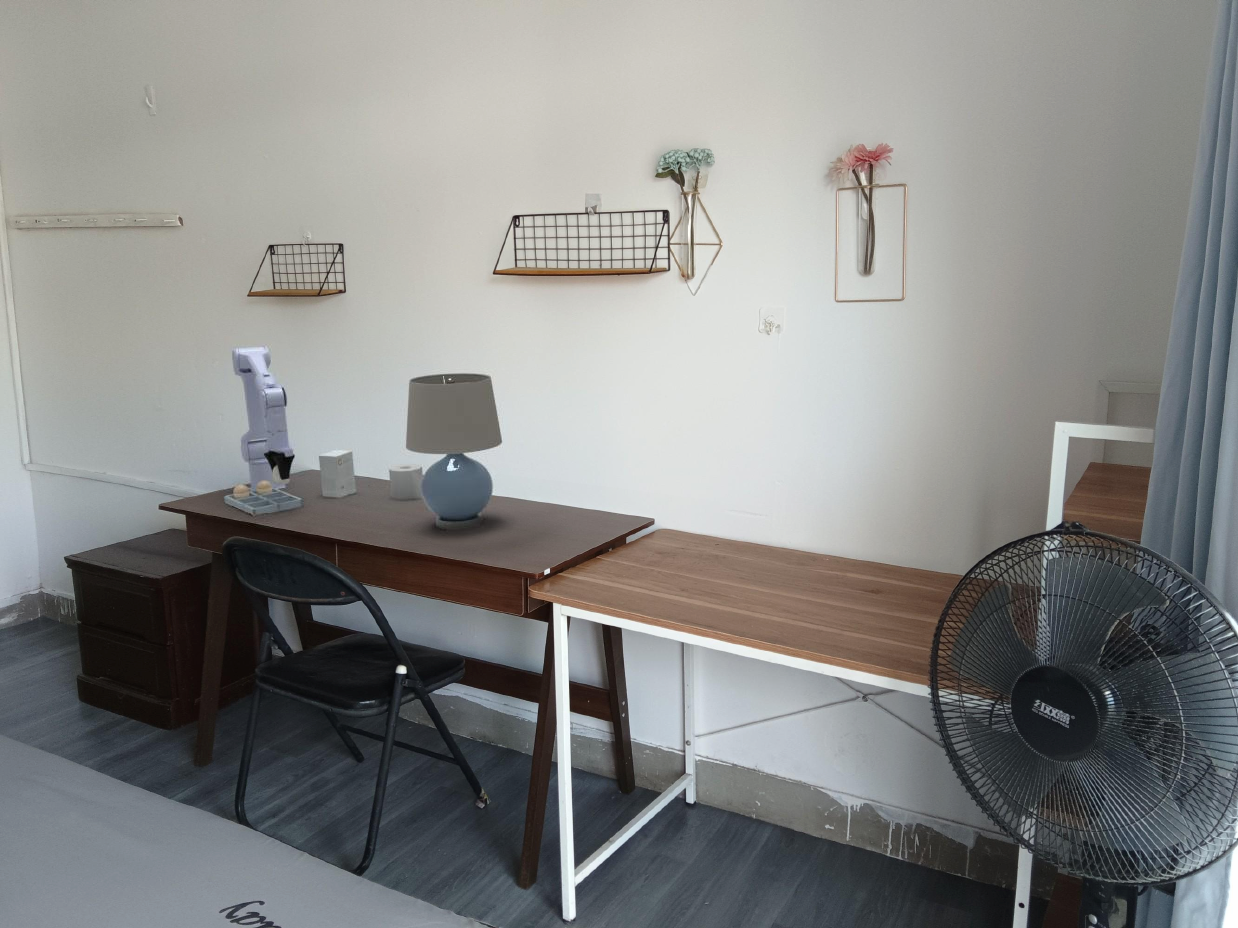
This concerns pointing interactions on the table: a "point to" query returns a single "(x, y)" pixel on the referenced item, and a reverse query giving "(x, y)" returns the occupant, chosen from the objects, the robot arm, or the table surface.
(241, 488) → the brown egg
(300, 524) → the table surface
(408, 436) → the lamp
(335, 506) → the table surface
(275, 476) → the cream egg
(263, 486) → the brown egg
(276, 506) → the egg carton
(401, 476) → the toilet tissue
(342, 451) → the small box
